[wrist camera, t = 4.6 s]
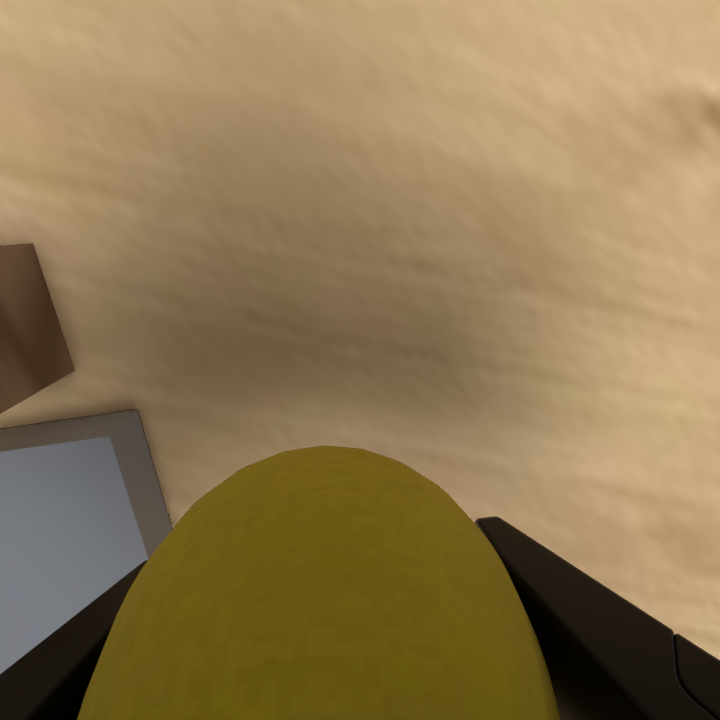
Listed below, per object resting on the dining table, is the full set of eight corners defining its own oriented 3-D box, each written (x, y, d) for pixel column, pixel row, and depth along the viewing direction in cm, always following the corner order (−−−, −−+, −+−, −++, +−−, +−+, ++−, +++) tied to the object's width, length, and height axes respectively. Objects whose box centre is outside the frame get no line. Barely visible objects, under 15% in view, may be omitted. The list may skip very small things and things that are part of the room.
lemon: (142, 483, 10) (-607, 1489, 2) (355, 325, 9) (489, 925, 1) (307, 644, 11) (244, 1599, 3) (503, 519, 10) (982, 1357, 3)
